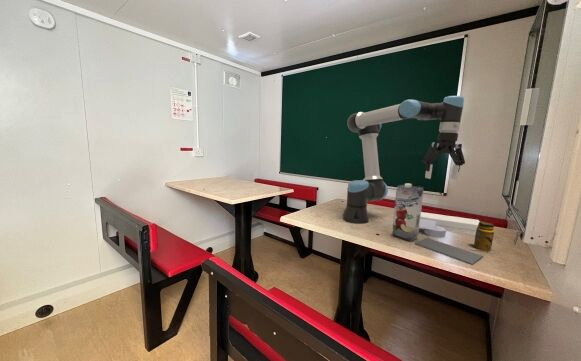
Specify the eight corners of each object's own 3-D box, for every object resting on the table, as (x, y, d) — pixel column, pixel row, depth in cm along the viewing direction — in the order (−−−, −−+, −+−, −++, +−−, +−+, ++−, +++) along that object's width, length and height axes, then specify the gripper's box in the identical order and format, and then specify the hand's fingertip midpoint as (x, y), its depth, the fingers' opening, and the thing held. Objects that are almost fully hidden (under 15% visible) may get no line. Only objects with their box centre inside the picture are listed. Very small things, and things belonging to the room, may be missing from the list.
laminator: (477, 230, 129) (478, 219, 128) (483, 237, 118) (485, 226, 117) (408, 219, 144) (409, 210, 143) (408, 225, 133) (409, 215, 132)
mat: (414, 244, 106) (414, 242, 106) (427, 238, 113) (427, 237, 113) (472, 265, 89) (472, 263, 89) (482, 257, 96) (483, 255, 96)
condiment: (494, 253, 100) (499, 226, 98) (471, 249, 103) (475, 223, 101) (487, 246, 106) (492, 221, 105) (465, 243, 109) (469, 219, 108)
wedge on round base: (415, 232, 122) (444, 238, 114) (416, 220, 121) (446, 225, 113) (417, 227, 129) (445, 233, 121) (418, 216, 128) (447, 221, 120)
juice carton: (398, 232, 121) (404, 181, 117) (419, 239, 113) (426, 184, 109) (389, 235, 116) (394, 182, 112) (410, 243, 108) (417, 185, 104)
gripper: (429, 130, 99) (422, 179, 103) (480, 133, 103) (471, 180, 107) (417, 131, 107) (411, 176, 111) (465, 133, 110) (457, 177, 114)
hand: (440, 178), depth 109 cm, fingers open, 13 cm apart
